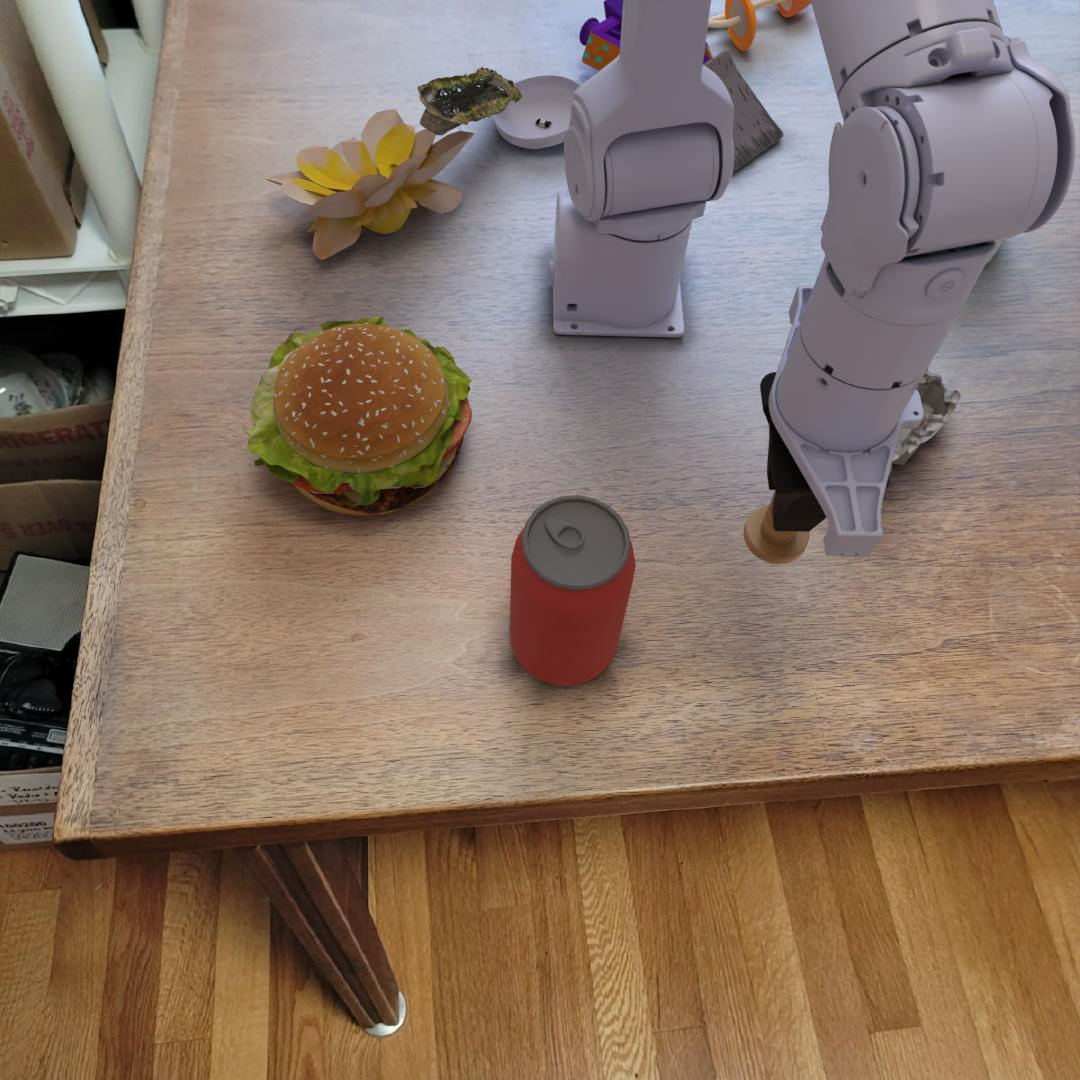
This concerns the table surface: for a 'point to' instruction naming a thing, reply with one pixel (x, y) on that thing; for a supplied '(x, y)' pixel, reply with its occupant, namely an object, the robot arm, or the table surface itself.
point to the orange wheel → (750, 17)
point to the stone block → (464, 99)
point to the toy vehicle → (749, 114)
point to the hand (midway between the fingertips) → (789, 505)
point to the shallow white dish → (538, 112)
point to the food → (360, 416)
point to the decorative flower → (371, 180)
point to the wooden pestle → (772, 538)
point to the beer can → (570, 589)
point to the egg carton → (926, 416)
